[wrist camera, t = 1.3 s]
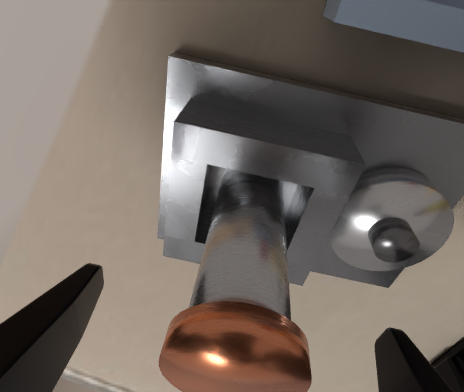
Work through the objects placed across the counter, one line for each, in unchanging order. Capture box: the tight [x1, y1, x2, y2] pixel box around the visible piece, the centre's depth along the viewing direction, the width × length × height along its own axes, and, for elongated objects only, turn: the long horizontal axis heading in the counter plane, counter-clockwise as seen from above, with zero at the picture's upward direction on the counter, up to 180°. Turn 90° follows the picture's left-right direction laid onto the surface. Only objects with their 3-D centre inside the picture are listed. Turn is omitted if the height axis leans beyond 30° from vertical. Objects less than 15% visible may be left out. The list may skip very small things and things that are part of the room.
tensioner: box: [158, 53, 464, 288], centre depth 14 cm, size 14×10×3 cm
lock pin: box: [159, 169, 311, 392], centre depth 11 cm, size 4×4×9 cm
